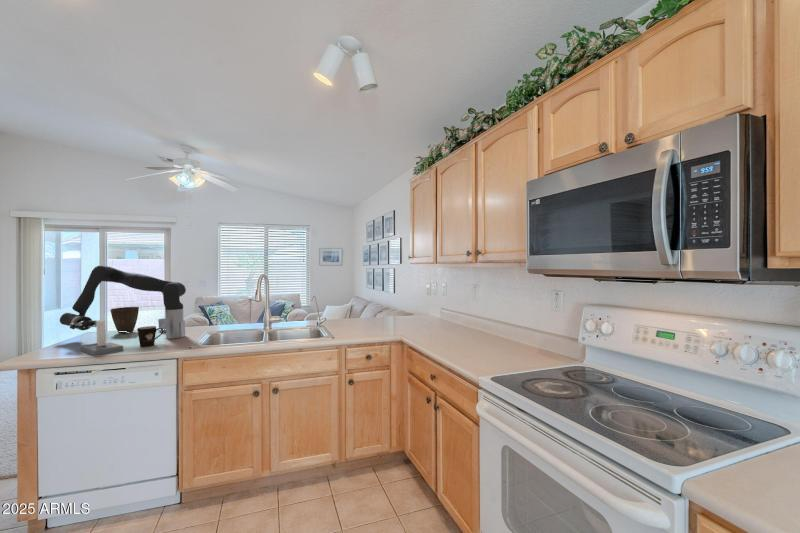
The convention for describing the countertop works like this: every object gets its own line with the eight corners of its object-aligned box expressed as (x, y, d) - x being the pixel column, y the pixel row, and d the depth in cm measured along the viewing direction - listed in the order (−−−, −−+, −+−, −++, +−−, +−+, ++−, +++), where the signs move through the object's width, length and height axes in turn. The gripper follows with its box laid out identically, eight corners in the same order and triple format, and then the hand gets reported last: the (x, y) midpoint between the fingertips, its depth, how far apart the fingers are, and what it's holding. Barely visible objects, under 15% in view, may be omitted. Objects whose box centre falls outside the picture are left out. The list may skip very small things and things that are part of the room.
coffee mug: (136, 348, 196) (135, 329, 196) (139, 345, 204) (138, 327, 204) (162, 345, 202) (161, 327, 202) (163, 342, 209) (163, 325, 209)
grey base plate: (80, 350, 193) (80, 345, 193) (108, 345, 203) (107, 341, 203) (94, 355, 182) (94, 350, 182) (123, 350, 192) (123, 345, 192)
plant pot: (106, 335, 230) (105, 310, 230) (117, 331, 245) (116, 307, 244) (134, 334, 234) (133, 309, 234) (143, 329, 249) (142, 306, 248)
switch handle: (97, 345, 191) (96, 320, 191) (104, 344, 194) (103, 320, 194) (98, 346, 190) (98, 321, 190) (105, 345, 193) (105, 320, 192)
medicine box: (164, 332, 240) (163, 319, 240) (158, 332, 241) (158, 318, 241) (174, 330, 248) (173, 317, 248) (168, 329, 249) (168, 317, 248)
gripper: (65, 317, 201) (75, 320, 192) (97, 314, 213) (108, 317, 204) (65, 331, 201) (75, 334, 192) (97, 327, 213) (108, 330, 204)
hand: (92, 325), depth 198 cm, fingers open, 8 cm apart
